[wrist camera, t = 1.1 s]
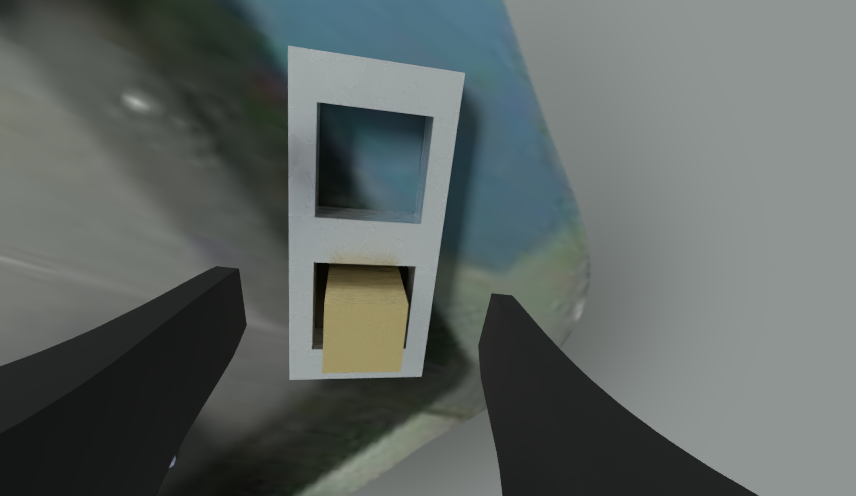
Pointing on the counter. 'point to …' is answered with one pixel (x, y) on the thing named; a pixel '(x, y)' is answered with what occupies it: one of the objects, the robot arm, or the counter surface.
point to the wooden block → (364, 319)
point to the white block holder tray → (361, 228)
